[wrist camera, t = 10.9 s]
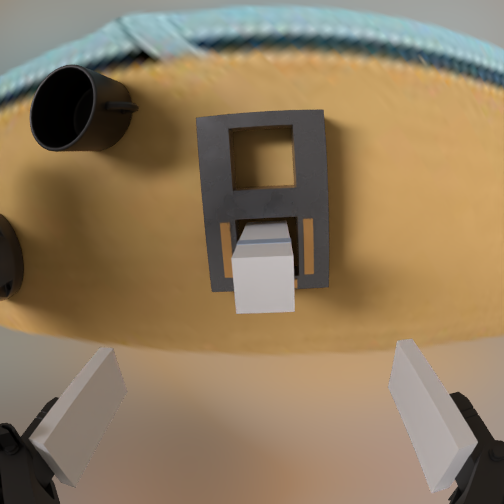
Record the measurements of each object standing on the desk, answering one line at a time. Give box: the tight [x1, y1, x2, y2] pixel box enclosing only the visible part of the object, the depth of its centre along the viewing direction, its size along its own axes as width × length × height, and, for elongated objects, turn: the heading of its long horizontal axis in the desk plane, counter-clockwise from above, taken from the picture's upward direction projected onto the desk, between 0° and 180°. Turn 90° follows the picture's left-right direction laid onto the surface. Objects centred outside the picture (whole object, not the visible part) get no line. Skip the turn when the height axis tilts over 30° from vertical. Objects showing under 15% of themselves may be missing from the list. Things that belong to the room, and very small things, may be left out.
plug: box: [231, 220, 295, 314], centre depth 31 cm, size 5×5×14 cm
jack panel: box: [196, 110, 329, 292], centre depth 34 cm, size 13×19×4 cm
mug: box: [30, 65, 139, 152], centre depth 30 cm, size 9×12×9 cm
